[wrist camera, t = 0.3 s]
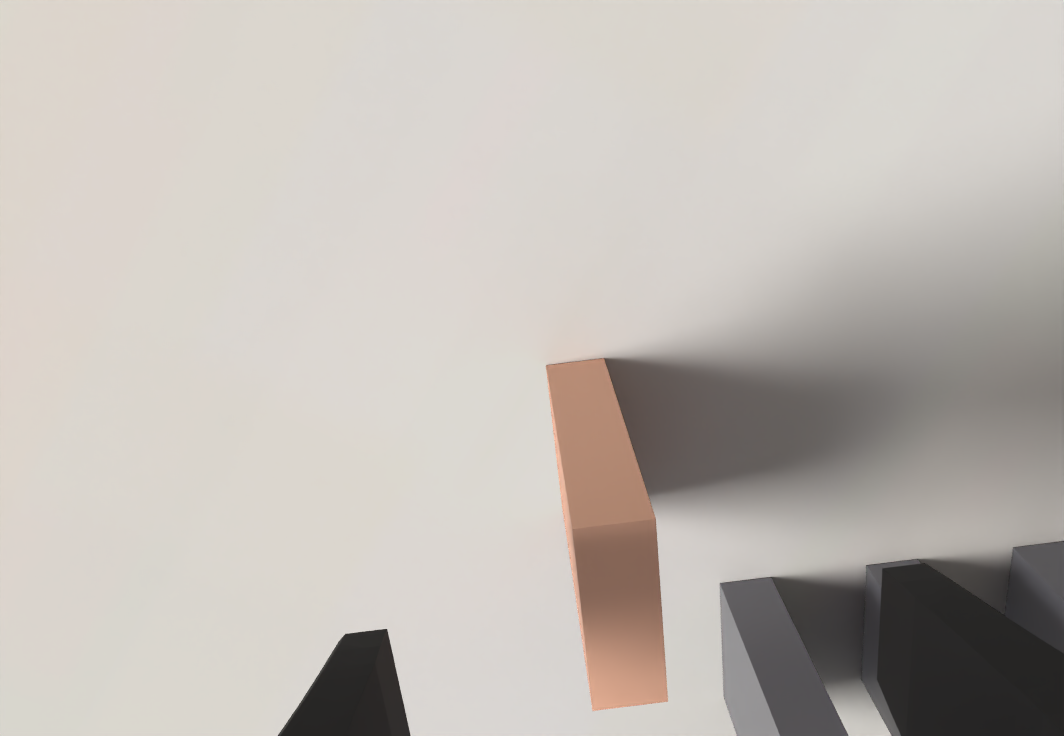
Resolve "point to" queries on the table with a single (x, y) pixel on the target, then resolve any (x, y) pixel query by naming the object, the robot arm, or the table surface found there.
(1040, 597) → the domino
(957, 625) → the robot arm
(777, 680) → the domino
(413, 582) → the table surface
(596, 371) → the domino
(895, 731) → the domino
